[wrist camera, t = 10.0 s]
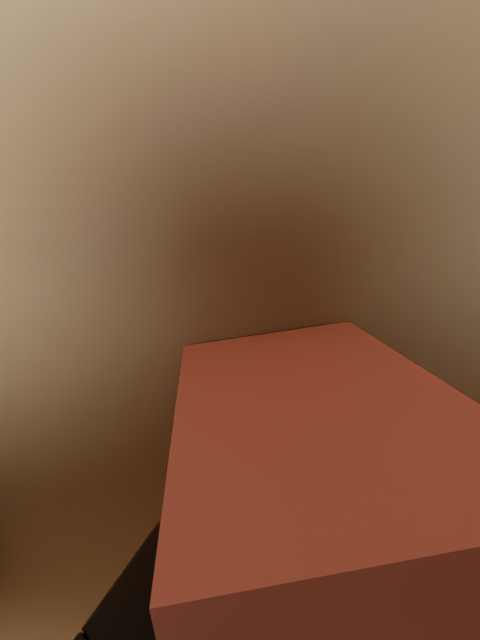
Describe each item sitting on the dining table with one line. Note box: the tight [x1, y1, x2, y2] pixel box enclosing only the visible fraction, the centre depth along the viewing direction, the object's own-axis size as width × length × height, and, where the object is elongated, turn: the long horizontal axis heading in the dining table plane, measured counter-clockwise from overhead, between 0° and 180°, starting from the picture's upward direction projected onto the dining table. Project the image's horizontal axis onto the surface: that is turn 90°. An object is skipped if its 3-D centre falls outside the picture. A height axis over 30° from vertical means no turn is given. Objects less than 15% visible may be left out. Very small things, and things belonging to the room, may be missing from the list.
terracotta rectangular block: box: [149, 322, 480, 640], centre depth 6 cm, size 4×6×6 cm, turn 7°
